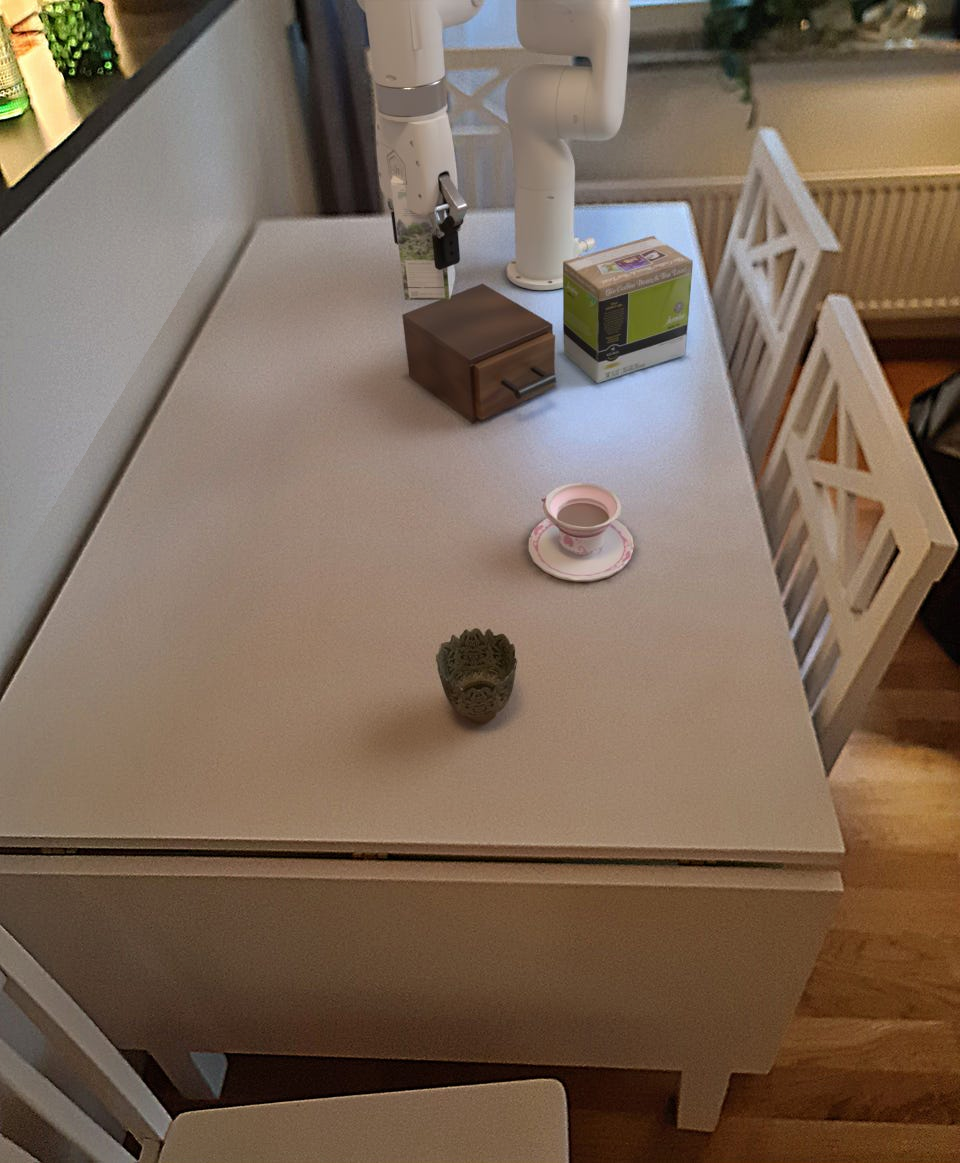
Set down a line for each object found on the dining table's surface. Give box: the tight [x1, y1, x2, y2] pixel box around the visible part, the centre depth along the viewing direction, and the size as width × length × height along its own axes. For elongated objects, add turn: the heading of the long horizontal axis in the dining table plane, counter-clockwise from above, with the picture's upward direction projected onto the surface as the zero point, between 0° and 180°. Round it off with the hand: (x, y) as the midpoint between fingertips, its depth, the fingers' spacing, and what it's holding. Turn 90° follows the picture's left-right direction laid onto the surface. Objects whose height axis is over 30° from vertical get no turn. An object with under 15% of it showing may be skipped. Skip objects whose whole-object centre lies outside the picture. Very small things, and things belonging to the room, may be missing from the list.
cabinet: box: [401, 283, 554, 424], centre depth 132 cm, size 16×14×10 cm
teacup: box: [528, 482, 635, 583], centre depth 106 cm, size 12×12×6 cm
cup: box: [435, 627, 518, 724], centre depth 89 cm, size 8×7×8 cm
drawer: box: [473, 332, 557, 421], centre depth 129 cm, size 19×13×8 cm, turn 36°
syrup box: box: [391, 175, 456, 301], centre depth 111 cm, size 6×6×14 cm
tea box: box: [562, 235, 694, 384], centre depth 133 cm, size 15×10×15 cm
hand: (426, 252), depth 113 cm, fingers closed on syrup box, 8 cm apart
